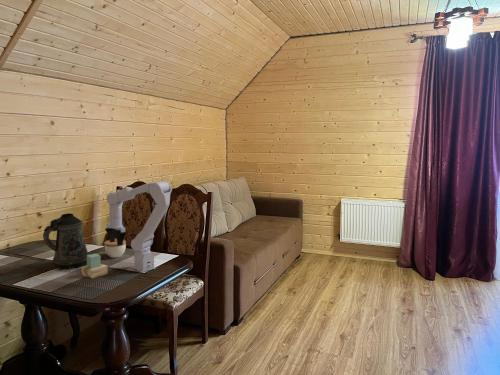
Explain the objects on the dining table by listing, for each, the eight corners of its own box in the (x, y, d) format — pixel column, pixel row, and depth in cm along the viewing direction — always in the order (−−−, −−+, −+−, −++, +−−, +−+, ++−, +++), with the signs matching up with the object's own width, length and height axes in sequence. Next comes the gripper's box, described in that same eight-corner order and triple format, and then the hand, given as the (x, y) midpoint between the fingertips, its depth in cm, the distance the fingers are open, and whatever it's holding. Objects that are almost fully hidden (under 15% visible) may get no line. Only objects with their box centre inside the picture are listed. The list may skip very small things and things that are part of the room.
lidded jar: (120, 259, 201) (119, 242, 200) (100, 258, 203) (100, 240, 202) (129, 253, 212) (129, 236, 211) (111, 252, 213) (110, 235, 212)
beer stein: (96, 260, 199) (95, 212, 196) (69, 273, 181) (67, 220, 177) (69, 257, 204) (67, 209, 200) (40, 269, 185) (37, 217, 182)
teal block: (100, 266, 180) (100, 255, 180) (90, 268, 177) (90, 257, 177) (96, 263, 183) (96, 253, 183) (87, 265, 180) (86, 255, 180)
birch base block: (107, 274, 182) (107, 265, 181) (92, 279, 175) (91, 270, 175) (97, 270, 186) (97, 262, 186) (81, 275, 180) (81, 266, 179)
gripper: (100, 215, 193) (101, 241, 195) (115, 220, 183) (115, 248, 185) (114, 213, 198) (114, 239, 200) (129, 218, 188) (129, 245, 190)
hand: (116, 243), depth 193 cm, fingers open, 7 cm apart
